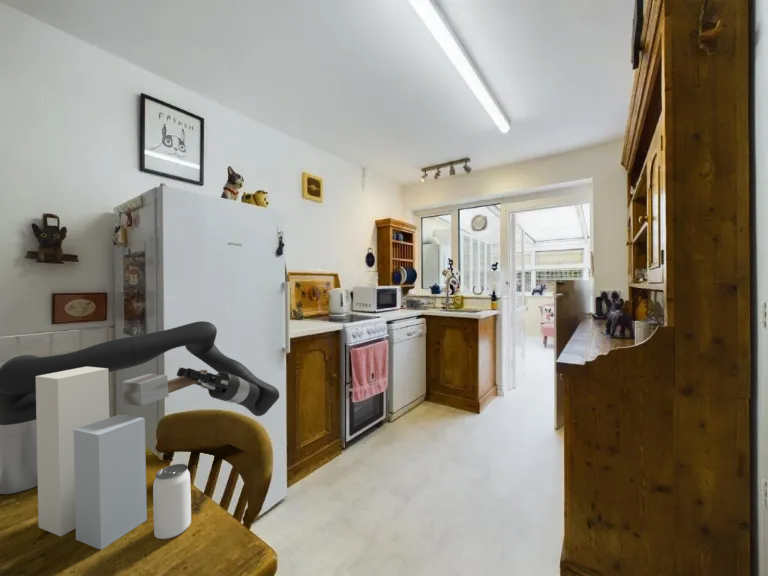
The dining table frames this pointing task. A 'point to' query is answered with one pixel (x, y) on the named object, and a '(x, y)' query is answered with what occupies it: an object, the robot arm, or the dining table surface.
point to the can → (171, 501)
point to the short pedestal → (109, 479)
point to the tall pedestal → (64, 438)
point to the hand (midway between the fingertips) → (182, 371)
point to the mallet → (152, 388)
